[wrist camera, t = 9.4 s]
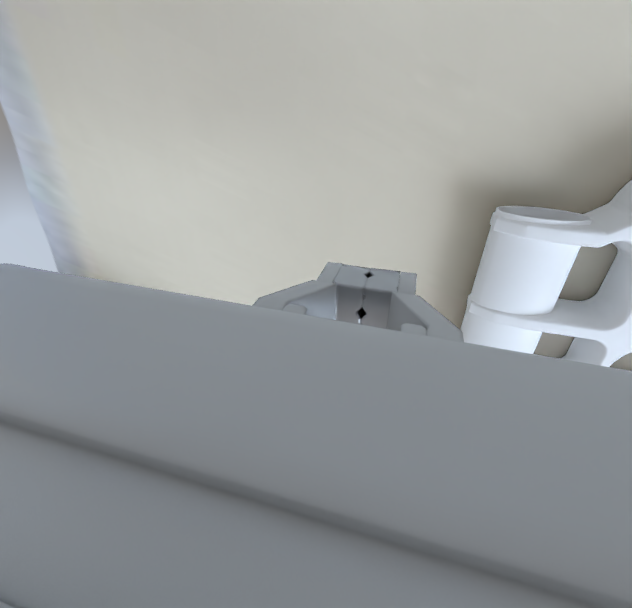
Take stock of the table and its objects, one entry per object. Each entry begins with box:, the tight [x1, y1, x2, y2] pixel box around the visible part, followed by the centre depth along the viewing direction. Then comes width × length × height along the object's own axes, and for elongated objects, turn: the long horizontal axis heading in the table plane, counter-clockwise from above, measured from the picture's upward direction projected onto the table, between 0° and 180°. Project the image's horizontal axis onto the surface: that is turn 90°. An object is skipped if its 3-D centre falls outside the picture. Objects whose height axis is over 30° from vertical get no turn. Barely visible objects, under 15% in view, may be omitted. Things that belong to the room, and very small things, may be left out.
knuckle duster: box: [460, 180, 632, 367], centre depth 20 cm, size 3×18×15 cm
